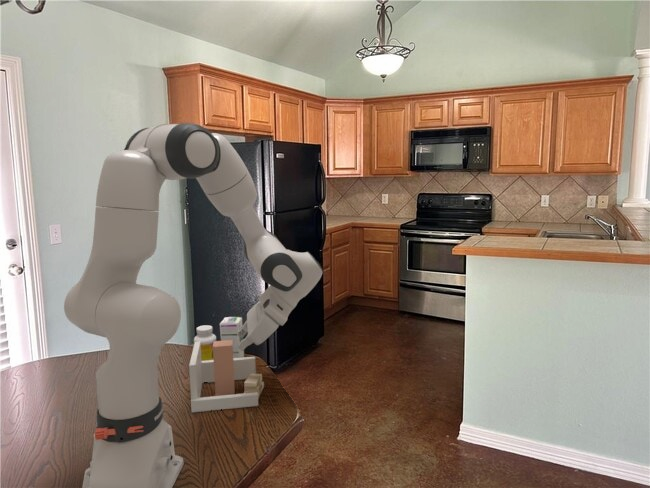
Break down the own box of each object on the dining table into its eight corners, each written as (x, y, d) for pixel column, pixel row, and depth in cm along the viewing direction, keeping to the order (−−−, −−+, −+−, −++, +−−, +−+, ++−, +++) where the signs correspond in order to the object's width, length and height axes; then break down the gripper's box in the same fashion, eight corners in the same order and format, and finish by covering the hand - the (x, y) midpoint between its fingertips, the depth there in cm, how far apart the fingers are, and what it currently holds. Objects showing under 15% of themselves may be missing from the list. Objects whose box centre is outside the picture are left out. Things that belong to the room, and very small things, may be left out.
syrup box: (241, 368, 142) (239, 322, 139) (221, 368, 142) (219, 322, 139) (244, 360, 147) (242, 316, 145) (226, 360, 147) (223, 316, 145)
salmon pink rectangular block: (234, 395, 125) (232, 345, 123) (215, 396, 124) (212, 346, 122) (234, 388, 129) (232, 339, 127) (216, 389, 128) (213, 341, 126)
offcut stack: (257, 401, 122) (257, 385, 122) (241, 400, 123) (241, 384, 122) (264, 386, 130) (263, 371, 129) (249, 386, 131) (248, 371, 130)
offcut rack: (258, 405, 119) (256, 361, 117) (191, 412, 117) (188, 367, 115) (255, 375, 136) (254, 336, 134) (197, 381, 134) (195, 341, 132)
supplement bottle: (214, 372, 139) (212, 331, 137) (192, 372, 139) (190, 331, 137) (220, 363, 145) (218, 323, 143) (198, 363, 145) (196, 324, 143)
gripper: (264, 286, 134) (231, 321, 134) (268, 307, 115) (229, 348, 114) (280, 300, 136) (247, 335, 136) (287, 323, 116) (249, 364, 116)
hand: (239, 341), depth 125 cm, fingers open, 8 cm apart
